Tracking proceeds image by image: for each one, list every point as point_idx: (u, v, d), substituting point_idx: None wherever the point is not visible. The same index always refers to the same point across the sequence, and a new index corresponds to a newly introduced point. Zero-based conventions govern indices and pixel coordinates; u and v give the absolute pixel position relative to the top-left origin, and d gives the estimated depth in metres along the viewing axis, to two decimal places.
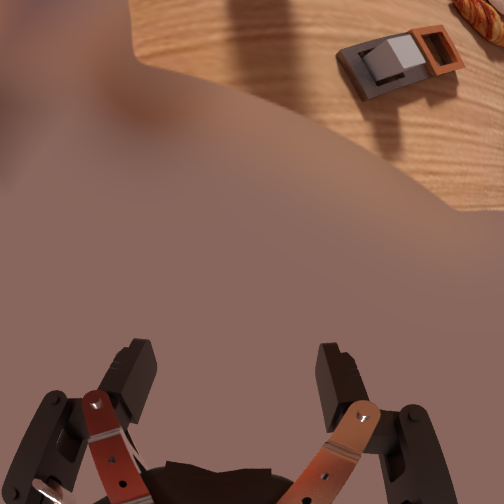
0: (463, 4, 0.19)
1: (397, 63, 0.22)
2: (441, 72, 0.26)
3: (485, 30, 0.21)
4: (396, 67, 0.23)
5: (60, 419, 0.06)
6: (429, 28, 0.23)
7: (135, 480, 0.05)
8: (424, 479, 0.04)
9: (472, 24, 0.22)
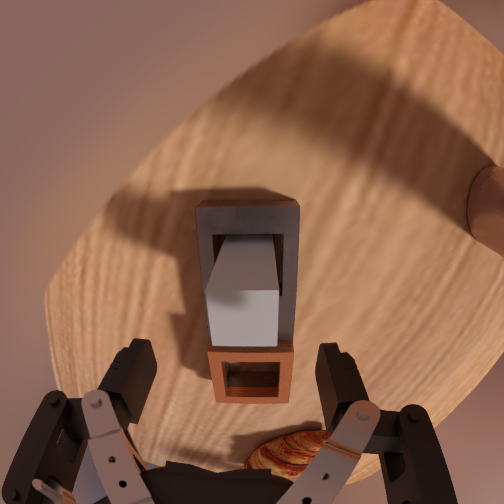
0: (314, 443, 0.32)
1: (223, 283, 0.16)
2: (211, 361, 0.25)
3: (273, 451, 0.33)
4: (218, 278, 0.16)
5: (60, 419, 0.06)
6: (287, 381, 0.25)
7: (135, 480, 0.05)
8: (424, 479, 0.04)
9: (285, 438, 0.35)
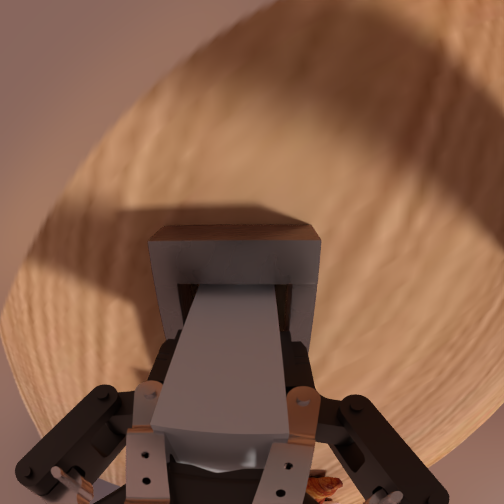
0: (318, 492, 0.24)
1: (183, 408, 0.07)
2: None
3: None
4: (176, 394, 0.08)
5: (103, 416, 0.07)
6: None
7: (160, 481, 0.05)
8: (389, 464, 0.05)
9: None
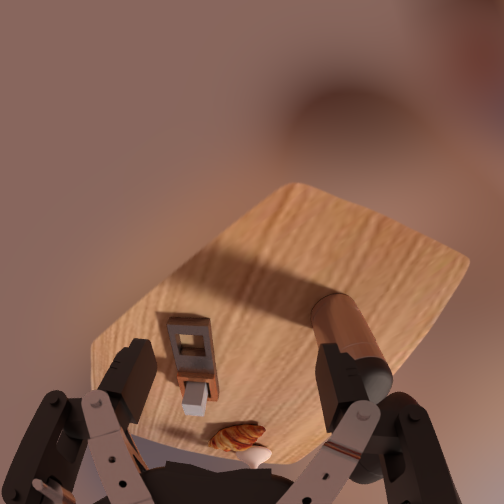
0: (253, 432, 0.61)
1: (186, 401, 0.48)
2: (178, 380, 0.53)
3: (229, 433, 0.62)
4: (185, 399, 0.49)
5: (60, 419, 0.06)
6: (214, 391, 0.54)
7: (135, 480, 0.05)
8: (424, 479, 0.04)
9: (237, 426, 0.64)
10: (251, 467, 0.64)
